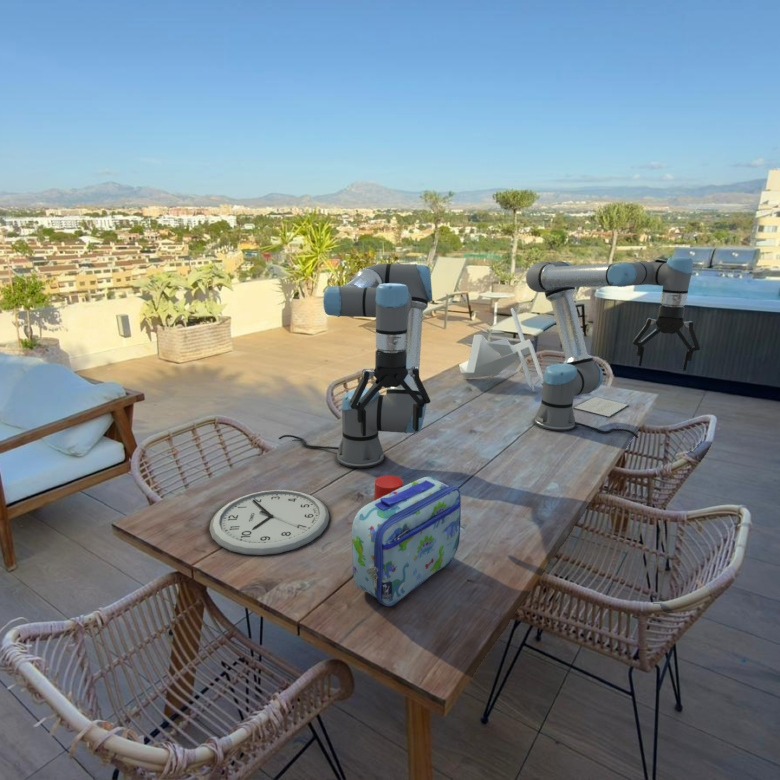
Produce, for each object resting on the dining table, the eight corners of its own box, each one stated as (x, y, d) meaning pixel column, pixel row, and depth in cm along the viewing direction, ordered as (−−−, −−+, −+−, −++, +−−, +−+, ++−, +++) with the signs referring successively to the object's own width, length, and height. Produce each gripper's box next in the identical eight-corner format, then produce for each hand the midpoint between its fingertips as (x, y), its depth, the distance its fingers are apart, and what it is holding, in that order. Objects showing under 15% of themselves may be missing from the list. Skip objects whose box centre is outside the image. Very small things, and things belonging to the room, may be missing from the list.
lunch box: (381, 619, 101) (382, 525, 95) (345, 592, 109) (344, 503, 102) (464, 563, 119) (469, 480, 113) (428, 543, 126) (432, 464, 120)
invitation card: (608, 416, 214) (573, 407, 224) (608, 416, 214) (573, 408, 224) (628, 404, 229) (594, 396, 238) (628, 405, 229) (594, 397, 238)
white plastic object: (480, 420, 263) (459, 397, 239) (461, 347, 286) (440, 319, 261) (551, 396, 251) (537, 369, 226) (526, 322, 273) (511, 290, 249)
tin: (371, 509, 141) (372, 476, 138) (397, 506, 143) (398, 473, 140) (378, 523, 135) (378, 489, 132) (405, 519, 136) (406, 486, 133)
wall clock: (327, 546, 121) (194, 551, 119) (327, 552, 122) (195, 557, 119) (330, 485, 150) (223, 488, 147) (330, 490, 150) (224, 493, 148)
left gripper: (342, 355, 119) (343, 441, 125) (445, 350, 125) (441, 433, 131) (337, 348, 126) (338, 430, 132) (434, 344, 132) (431, 422, 138)
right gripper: (631, 304, 174) (622, 365, 181) (717, 309, 165) (704, 374, 171) (631, 301, 181) (622, 360, 187) (714, 306, 172) (701, 369, 178)
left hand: (389, 431), depth 132 cm, fingers open, 13 cm apart
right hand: (661, 367), depth 179 cm, fingers open, 13 cm apart
